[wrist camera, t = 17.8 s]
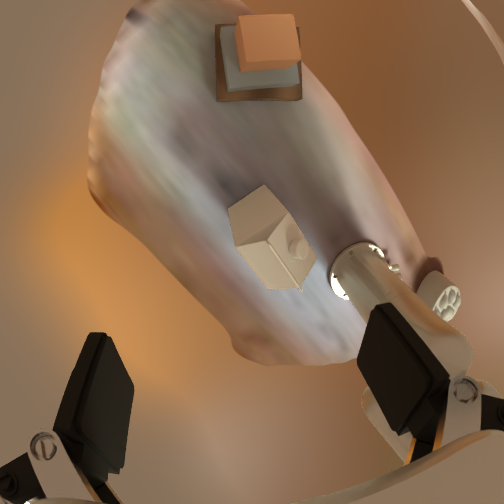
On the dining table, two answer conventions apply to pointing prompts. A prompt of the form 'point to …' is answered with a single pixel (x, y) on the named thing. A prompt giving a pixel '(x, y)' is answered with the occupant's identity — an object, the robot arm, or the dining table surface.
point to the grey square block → (254, 78)
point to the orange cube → (266, 42)
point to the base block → (254, 94)
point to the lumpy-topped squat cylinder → (440, 294)
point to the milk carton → (270, 240)
